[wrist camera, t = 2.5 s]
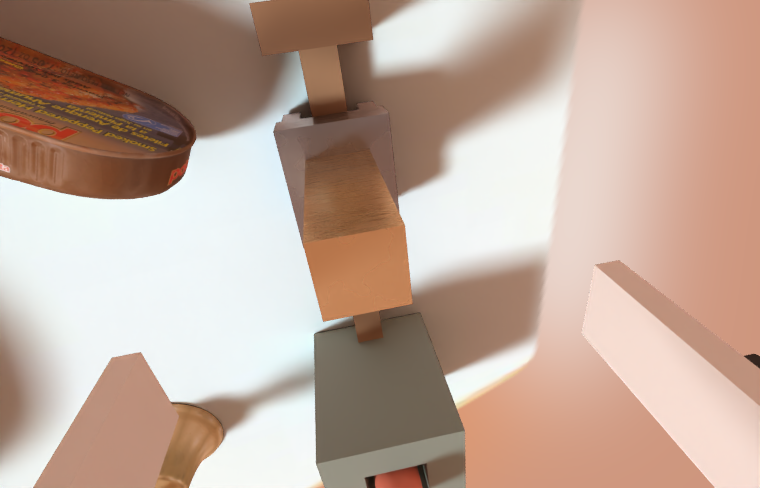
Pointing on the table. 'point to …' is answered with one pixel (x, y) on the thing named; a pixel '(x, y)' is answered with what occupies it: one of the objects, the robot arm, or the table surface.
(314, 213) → the block
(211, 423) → the hand bell
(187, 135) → the tin
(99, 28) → the table surface
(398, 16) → the table surface
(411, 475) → the red rounded peg
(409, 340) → the grey hole block
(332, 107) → the rail
